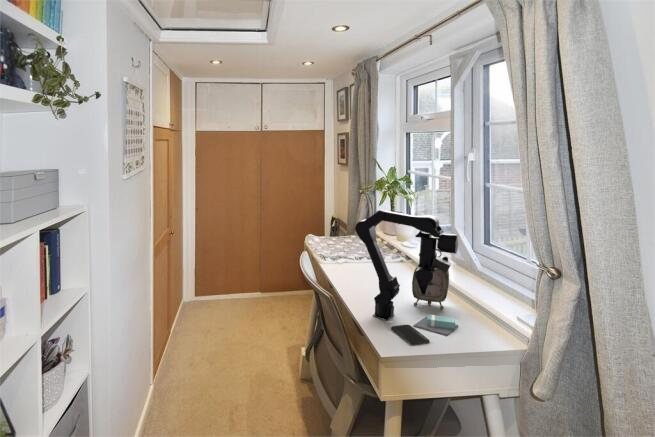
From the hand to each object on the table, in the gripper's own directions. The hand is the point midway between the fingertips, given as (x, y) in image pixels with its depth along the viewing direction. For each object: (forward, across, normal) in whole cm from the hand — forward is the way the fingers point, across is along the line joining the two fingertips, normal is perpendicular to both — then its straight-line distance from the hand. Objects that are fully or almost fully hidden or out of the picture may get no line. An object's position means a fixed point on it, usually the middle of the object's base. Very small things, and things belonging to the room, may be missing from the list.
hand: (424, 290), depth 170 cm
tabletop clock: (+13, +21, -1) cm, 25 cm away
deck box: (+11, 0, -2) cm, 11 cm away
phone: (+14, -13, +3) cm, 19 cm away
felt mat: (+13, -1, -5) cm, 14 cm away
